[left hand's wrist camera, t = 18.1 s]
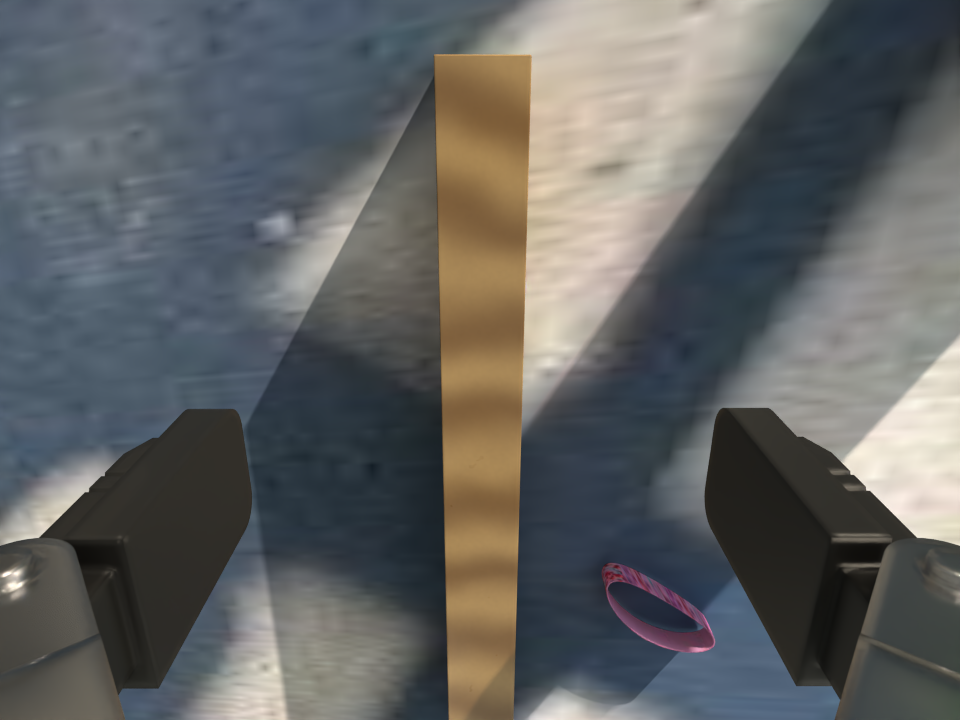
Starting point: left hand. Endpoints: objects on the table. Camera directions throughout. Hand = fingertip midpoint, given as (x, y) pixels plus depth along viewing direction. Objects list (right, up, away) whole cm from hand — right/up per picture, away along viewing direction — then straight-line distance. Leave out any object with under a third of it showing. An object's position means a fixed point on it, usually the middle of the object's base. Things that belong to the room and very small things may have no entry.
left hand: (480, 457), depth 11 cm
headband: (+14, -18, +43) cm, 48 cm away
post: (0, -5, +38) cm, 38 cm away
